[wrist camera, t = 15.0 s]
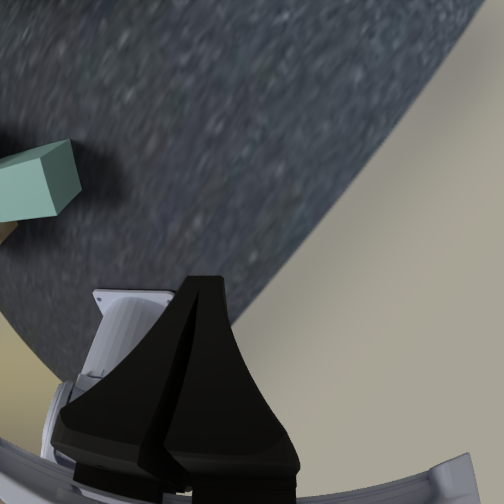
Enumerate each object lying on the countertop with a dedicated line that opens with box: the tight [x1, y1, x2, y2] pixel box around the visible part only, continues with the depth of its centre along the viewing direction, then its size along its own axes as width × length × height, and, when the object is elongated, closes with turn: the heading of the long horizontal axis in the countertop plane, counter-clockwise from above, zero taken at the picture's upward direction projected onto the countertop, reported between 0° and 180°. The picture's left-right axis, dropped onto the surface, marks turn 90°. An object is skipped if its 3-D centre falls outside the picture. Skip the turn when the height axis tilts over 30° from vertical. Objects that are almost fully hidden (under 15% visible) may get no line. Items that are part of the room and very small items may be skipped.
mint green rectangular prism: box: [0, 139, 82, 222], centre depth 16 cm, size 4×12×4 cm, turn 91°
